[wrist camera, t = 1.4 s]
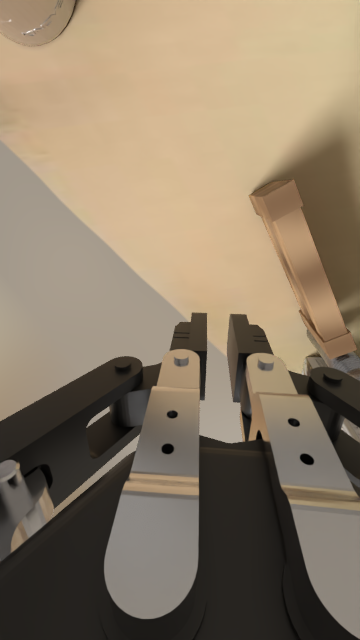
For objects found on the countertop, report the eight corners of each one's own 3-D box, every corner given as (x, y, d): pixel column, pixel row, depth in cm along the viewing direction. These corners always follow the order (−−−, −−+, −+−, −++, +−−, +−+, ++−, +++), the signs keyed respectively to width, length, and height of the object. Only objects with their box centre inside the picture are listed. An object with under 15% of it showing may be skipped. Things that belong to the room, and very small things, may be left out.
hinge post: (301, 326, 33) (346, 391, 23) (328, 315, 32) (388, 377, 22) (310, 347, 34) (357, 418, 24) (336, 336, 34) (397, 405, 23)
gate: (325, 315, 32) (357, 349, 25) (304, 324, 33) (330, 359, 26) (271, 181, 27) (294, 179, 20) (248, 195, 27) (262, 197, 21)
